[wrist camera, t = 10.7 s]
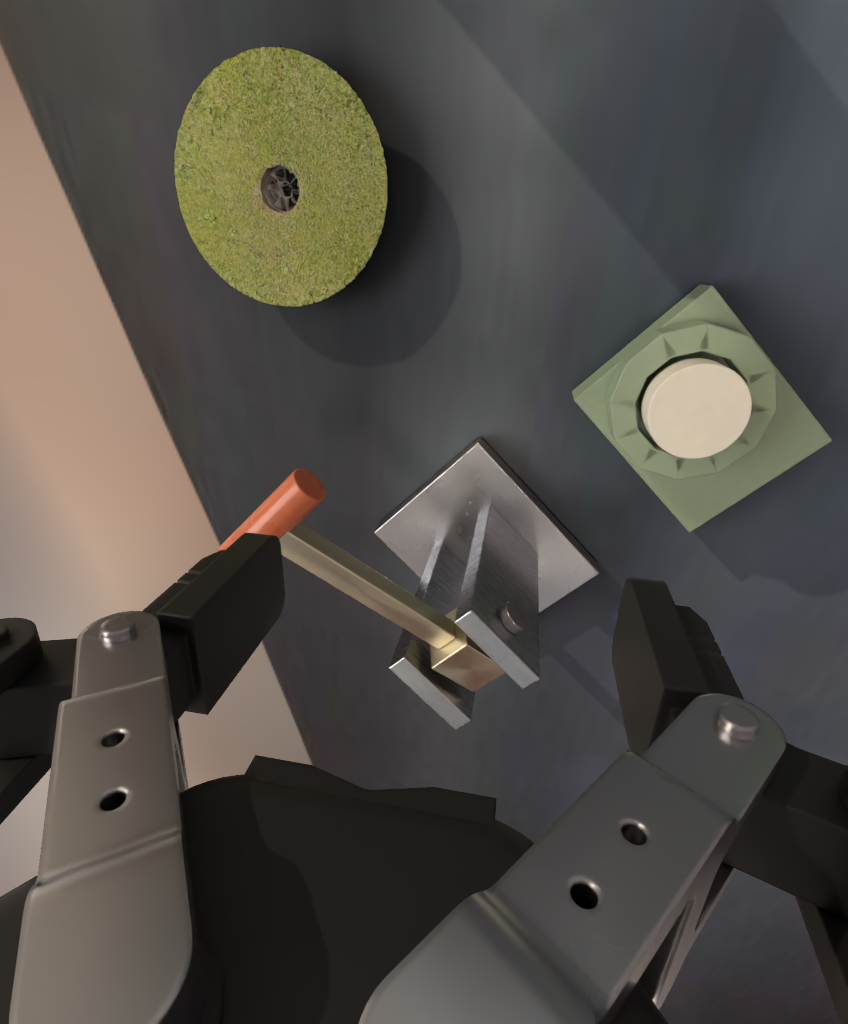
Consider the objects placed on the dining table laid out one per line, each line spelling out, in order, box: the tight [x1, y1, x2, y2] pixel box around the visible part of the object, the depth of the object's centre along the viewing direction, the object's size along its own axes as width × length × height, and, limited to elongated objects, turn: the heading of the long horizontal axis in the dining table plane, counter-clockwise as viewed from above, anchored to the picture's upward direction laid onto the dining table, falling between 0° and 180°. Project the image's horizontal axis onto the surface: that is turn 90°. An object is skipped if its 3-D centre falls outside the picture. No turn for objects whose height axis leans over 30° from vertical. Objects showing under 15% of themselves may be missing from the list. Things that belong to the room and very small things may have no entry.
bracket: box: [374, 437, 599, 730], centre depth 30 cm, size 11×9×13 cm
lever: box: [216, 469, 505, 692], centre depth 23 cm, size 13×5×2 cm, turn 44°
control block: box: [572, 284, 832, 532], centre depth 28 cm, size 10×8×4 cm
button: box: [641, 358, 752, 459], centre depth 26 cm, size 4×4×2 cm
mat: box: [174, 46, 387, 307], centre depth 29 cm, size 11×11×2 cm
